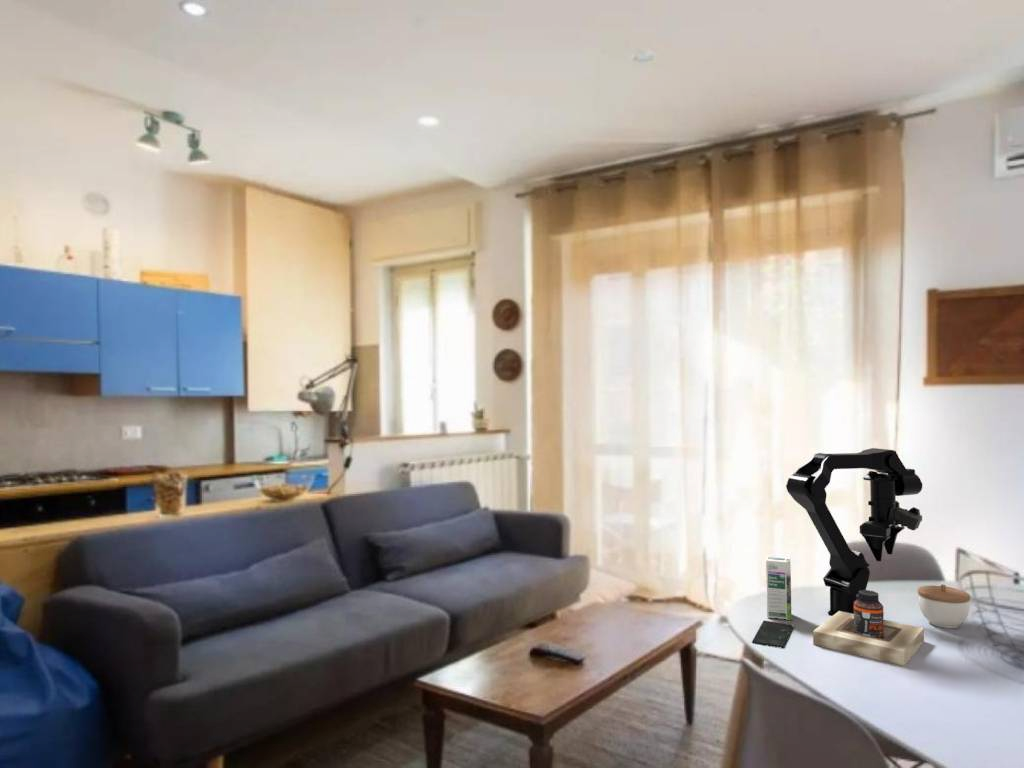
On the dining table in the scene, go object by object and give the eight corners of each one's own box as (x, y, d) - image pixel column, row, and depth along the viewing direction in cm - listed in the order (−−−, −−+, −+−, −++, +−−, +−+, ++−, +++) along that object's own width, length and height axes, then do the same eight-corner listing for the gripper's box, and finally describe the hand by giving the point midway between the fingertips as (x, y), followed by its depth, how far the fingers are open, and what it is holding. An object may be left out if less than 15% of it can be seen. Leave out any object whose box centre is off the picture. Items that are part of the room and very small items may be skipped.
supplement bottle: (872, 649, 149) (871, 597, 149) (848, 640, 154) (847, 590, 154) (889, 644, 151) (889, 593, 151) (865, 636, 157) (864, 586, 157)
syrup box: (766, 618, 169) (765, 560, 169) (767, 611, 175) (766, 554, 175) (791, 621, 167) (790, 562, 167) (791, 613, 173) (790, 556, 173)
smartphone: (751, 641, 153) (763, 619, 166) (751, 645, 153) (763, 624, 166) (784, 646, 150) (793, 624, 163) (784, 651, 150) (793, 628, 163)
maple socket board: (813, 644, 152) (813, 630, 152) (839, 623, 165) (838, 610, 165) (903, 665, 140) (903, 651, 140) (924, 641, 153) (923, 627, 153)
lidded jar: (917, 613, 171) (917, 576, 171) (968, 620, 166) (968, 582, 166) (918, 627, 162) (917, 587, 162) (972, 634, 157) (971, 594, 157)
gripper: (907, 505, 164) (909, 570, 163) (927, 495, 177) (929, 555, 177) (858, 501, 171) (859, 562, 171) (881, 491, 185) (882, 549, 185)
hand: (884, 557), depth 176 cm, fingers open, 9 cm apart
